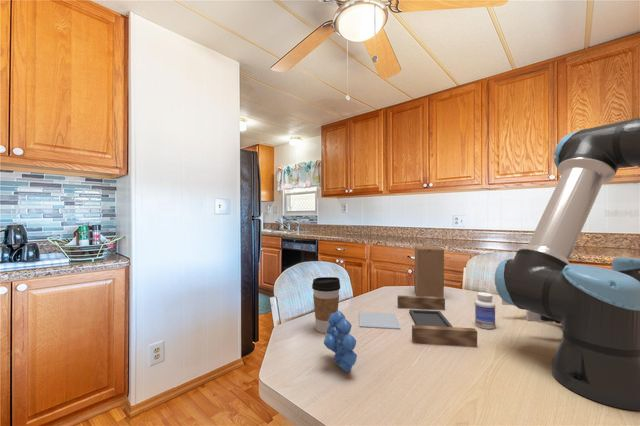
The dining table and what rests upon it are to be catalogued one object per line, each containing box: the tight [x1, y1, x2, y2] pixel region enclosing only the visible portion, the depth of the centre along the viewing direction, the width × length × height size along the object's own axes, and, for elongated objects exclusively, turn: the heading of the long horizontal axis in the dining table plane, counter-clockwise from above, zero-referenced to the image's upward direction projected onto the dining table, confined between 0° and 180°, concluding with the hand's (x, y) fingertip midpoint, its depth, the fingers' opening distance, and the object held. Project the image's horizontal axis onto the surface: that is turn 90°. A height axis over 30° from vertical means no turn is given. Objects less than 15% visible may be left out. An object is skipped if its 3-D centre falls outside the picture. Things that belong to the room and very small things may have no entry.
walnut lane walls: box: [397, 295, 478, 348], centre depth 90 cm, size 16×29×4 cm, turn 173°
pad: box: [358, 311, 401, 330], centre depth 92 cm, size 12×12×1 cm
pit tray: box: [408, 309, 454, 327], centre depth 90 cm, size 10×16×1 cm, turn 173°
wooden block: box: [413, 245, 445, 298], centre depth 118 cm, size 10×10×20 cm
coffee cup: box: [311, 276, 341, 334], centre depth 85 cm, size 8×8×15 cm
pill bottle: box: [474, 292, 496, 330], centre depth 88 cm, size 5×5×10 cm
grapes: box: [323, 310, 358, 373], centre depth 65 cm, size 12×7×12 cm, turn 22°
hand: (513, 307), depth 87 cm, fingers open, 13 cm apart
